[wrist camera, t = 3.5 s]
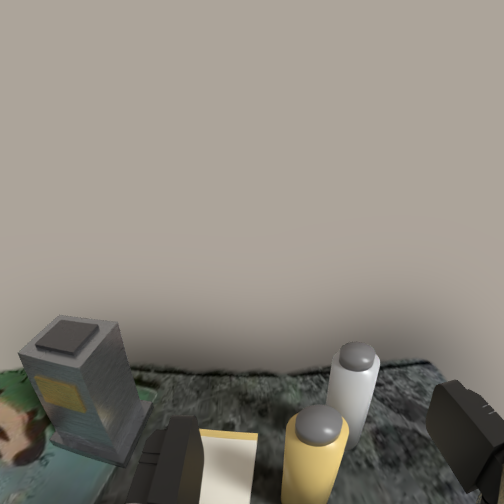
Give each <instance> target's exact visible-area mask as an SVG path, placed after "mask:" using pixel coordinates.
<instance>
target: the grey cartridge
mask: <svg viewBox="0 0 504 504" xmlns="http://www.w3.org/2000/svg"><path fill="white" fill-rule="evenodd" d="M379 366H380V360H379V358H378V356H377V355H376V354H375V350H374V349H373V347H371V346H370V345H368V344H366V343H362V342H350V343H347V344H345V345H343V346H342V347H341V349H340V350H339V351H337V352H336V353H335V354H334V356H333V358H332V365H331V373H330V380H329V387H328V393H327V400H326V405H327V406H330V407H332V408H334V409H336V410H337V411H338V412H339V413H340V414H341V416H342V417H343V418H344V419H345V420H346V422H347V424H348V427H349V435H348V439H347V442H346V446H345V449H344V451H347V450H350V449H352V448H354V447H355V446H356V445H357V444H358V442H359V439H360V436H361V433H362V430H363V426H364V423H365V420H366V416H367V413H368V409H369V406H370V402H371V398H372V395H373V391H374V387H375V383H376V379H377V375H378V371H379Z"/></svg>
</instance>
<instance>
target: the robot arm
mask: <svg viewBox="0 0 504 504" xmlns="http://www.w3.org/2000/svg"><path fill="white" fill-rule="evenodd" d="M426 429H427V431H428V433H429V435H430V437H431V438H432V440H433V441H434V443H435V444H436V446H437V447H438V449H439V451H440V452H441V454H442V455H443V457H444V458H445V460H446V462H447V463H448V465H449V466H450V468H451V470H452V471H453V473H454V474H455V476H456V478H457V479H458V481H459V482H460V484H461V486H462V487H463V489H464V491H465V492H466V494H468V493H470V492H472V491H474V490H476V489H479V490H480V494H479V495H478V498H477V502H476V504H504V420H503V419H502V418H501V417H500V416H499V415H498V414H497V412H494V409H493V408H492V407H491V406H490V405H489V406H488V403H487V402H486V401H485V400H484V399H483V398H482V397H481V395H479V394H477V393H475V392H473V391H471V390H469V389H468V390H467V389H465V387H464V386H463V385H462V384H461V383H460V382H459V381H458V380H452V381H448V382H445V383H441V384H438V385H436V387H435V388H434V391H433V395H432V399H431V402H430V406H429V409H428V413H427V416H426ZM203 469H204V448H203V443H202V439H201V435H200V430H199V426H198V421H197V418H196V416H195V415H172V416H171V418H170V421H169V424H168V428H167V430H155V431H154V432H153V434H152V435H151V436H150V437H149V438H148V439H147V440H146V443H145V445H144V448H143V451H142V454H141V457H140V460H139V464H138V466H137V469H136V472H135V475H134V478H133V481H132V484H131V487H130V490H129V493H128V496H127V499H126V501H125V503H124V504H199V501H200V493H201V485H202V477H203Z"/></svg>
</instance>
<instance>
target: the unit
mask: <svg viewBox="0 0 504 504" xmlns="http://www.w3.org/2000/svg"><path fill="white" fill-rule="evenodd" d="M18 355H19V357H20V360H21V362H22V364H23V367H24V369H25V371H26V373H27V375H28V378H29V380H30V382H31V384H32V386H33V388H34V390H35V392H36V394H37V396H38V398H39V400H40V402H41V404H42V406H43V408H44V410H45V411H46V413H47V415H48V417H49V419H50V420H51V422H52V424H53V426H54V427H55V429H56V431H55V432H54V434H53V435H52V437H51V438H50V441H51V442H52V444H53V445H55V446H58V447H60V448H63V449H66V450H68V451H71V452H74V453H77V454H80V455H83V456H86V457H89V458H92V459H95V460H98V461H101V462H105V463H108V464H112V465H115V466H119V467H123V468H126V467H127V465H128V462H129V460H130V458H131V456H132V454H133V451H134V449H135V447H136V445H137V443H138V440H139V438H140V436H141V434H142V432H143V430H144V427H145V425H146V423H147V421H148V419H149V417H150V415H151V412H152V410H153V408H154V406H153V403H152V402H150V401H143V400H140V399H139V395H138V392H137V389H136V386H135V383H134V379H133V376H132V373H131V369H130V366H129V362H128V359H127V356H126V352H125V348H124V344H123V340H122V337H121V333H120V329H119V325H118V322H113V321H104V320H95V319H87V318H78V317H71V316H63V315H59V316H58V317H57V318H55V319H54V320H53V321H52V322H51V323H50V324H49V325H47V326H46V327H45V328H44V329H43V330H42V331H41V332H40V333H39V334H38V335H36V336H35V337H34V338H33V339H32V340H31V341H30V342H29V343H28V344H27V345H26V346H25V347H23V348H22V349H21V350H20V351H19V352H18Z"/></svg>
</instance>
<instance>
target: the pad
mask: <svg viewBox="0 0 504 504" xmlns="http://www.w3.org/2000/svg"><path fill="white" fill-rule="evenodd" d="M199 430H200V435H201V439H202V443H203V448H204V469H203V477H202V485H201V493H200V501H199V504H250V497H251V489H252V481H253V473H254V465H255V457H256V448H257V440H258V433H240V432H227V431H215V430H206V429H199Z"/></svg>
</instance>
